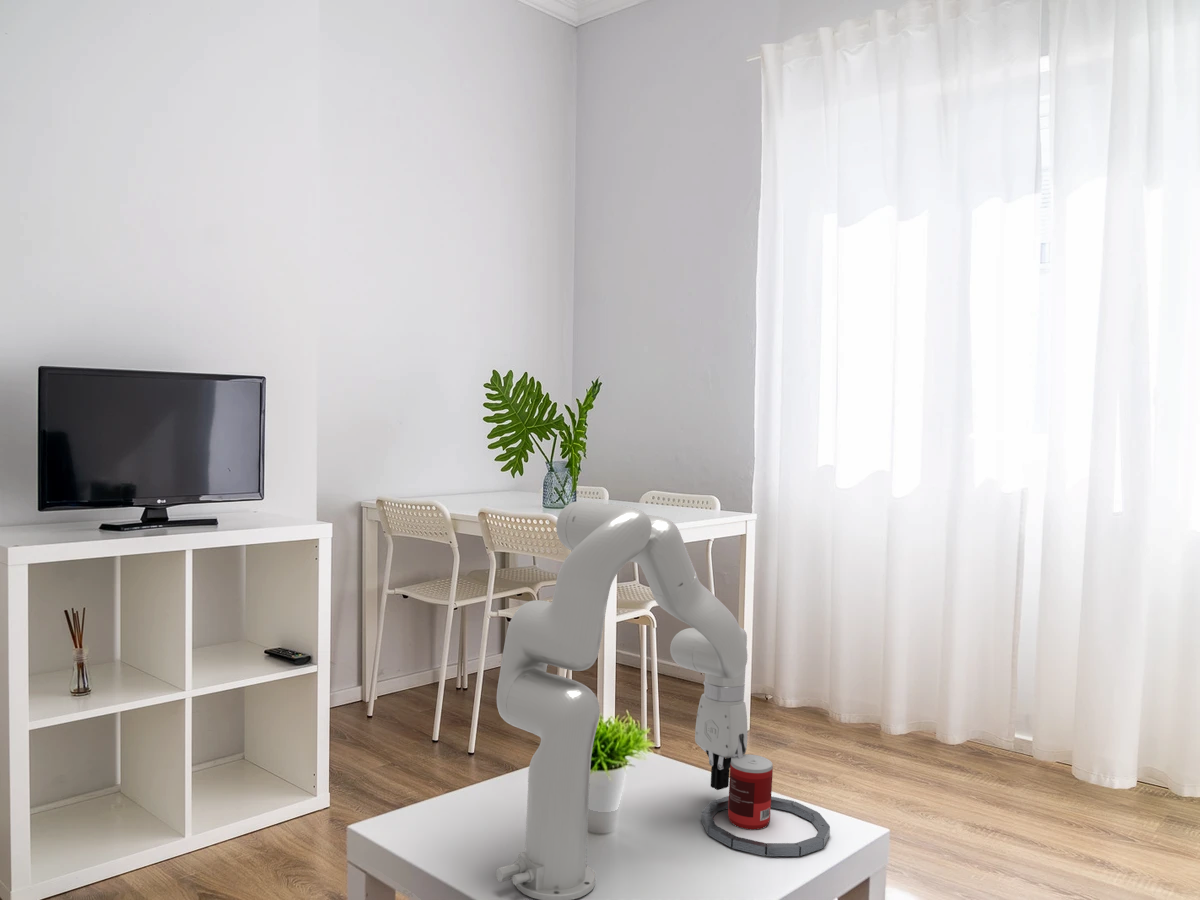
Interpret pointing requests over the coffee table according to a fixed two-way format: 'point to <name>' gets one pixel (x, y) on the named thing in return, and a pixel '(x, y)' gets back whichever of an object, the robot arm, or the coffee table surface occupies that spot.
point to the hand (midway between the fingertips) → (719, 787)
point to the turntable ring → (768, 848)
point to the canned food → (750, 791)
